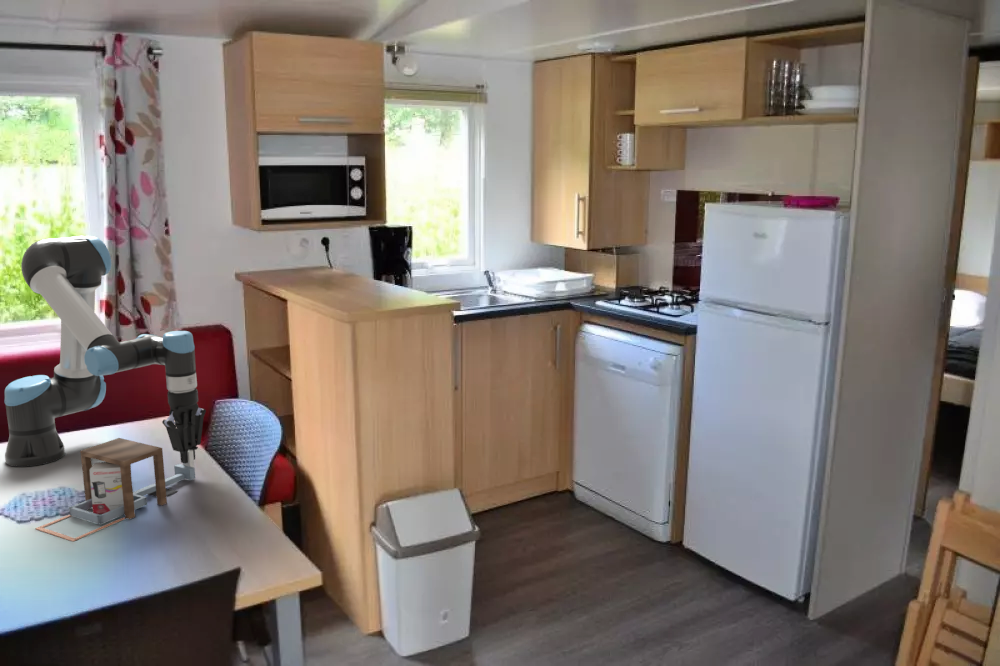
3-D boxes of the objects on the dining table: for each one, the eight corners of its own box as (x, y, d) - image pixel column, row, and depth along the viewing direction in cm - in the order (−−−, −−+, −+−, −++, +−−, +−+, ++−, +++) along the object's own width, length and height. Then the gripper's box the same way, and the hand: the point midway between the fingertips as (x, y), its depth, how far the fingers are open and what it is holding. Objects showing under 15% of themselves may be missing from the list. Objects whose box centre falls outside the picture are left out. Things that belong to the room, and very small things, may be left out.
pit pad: (138, 491, 214) (138, 490, 214) (153, 485, 218) (153, 484, 218) (162, 498, 210) (162, 497, 210) (177, 491, 214) (177, 490, 214)
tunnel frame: (86, 506, 205) (80, 450, 202) (124, 491, 214) (119, 437, 211) (129, 519, 197) (124, 461, 194) (166, 503, 207) (162, 447, 204)
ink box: (92, 515, 199) (87, 469, 197) (97, 507, 204) (92, 462, 202) (130, 512, 201) (126, 466, 199) (134, 504, 206) (130, 459, 204)
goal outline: (35, 529, 192) (35, 528, 192) (88, 507, 204) (88, 507, 204) (72, 541, 186) (72, 540, 186) (125, 518, 198) (125, 518, 198)
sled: (69, 515, 198) (68, 502, 197) (173, 473, 225) (172, 462, 224) (100, 524, 193) (98, 511, 192) (202, 481, 220) (201, 469, 219)
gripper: (172, 397, 210) (179, 483, 215) (211, 385, 222) (217, 467, 227) (152, 393, 214) (159, 478, 219) (191, 381, 225) (197, 462, 230)
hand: (189, 472), depth 223 cm, fingers closed
